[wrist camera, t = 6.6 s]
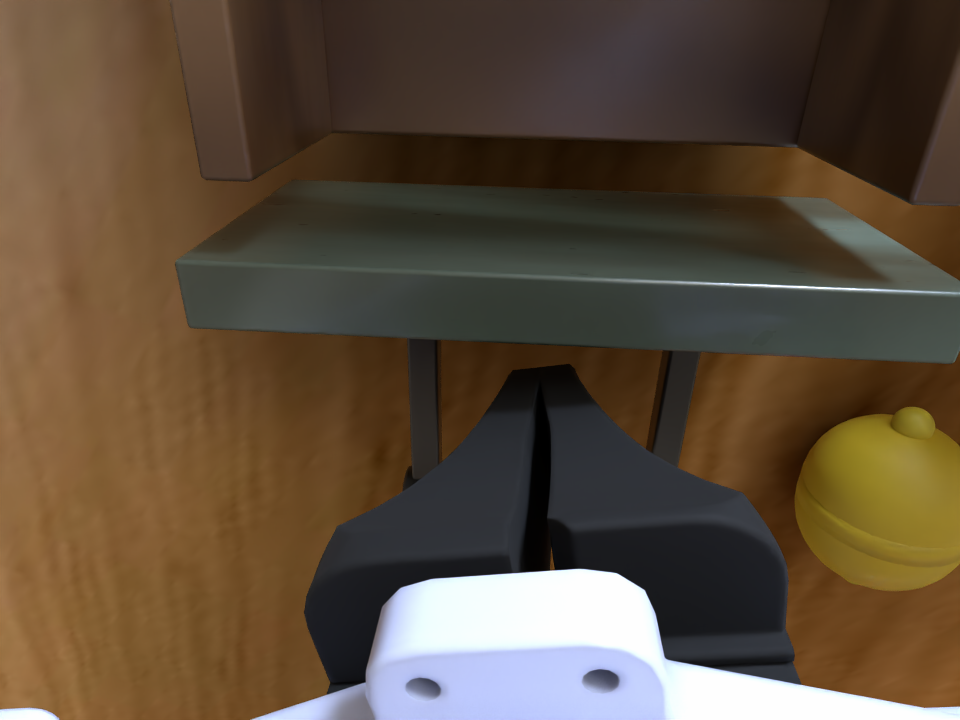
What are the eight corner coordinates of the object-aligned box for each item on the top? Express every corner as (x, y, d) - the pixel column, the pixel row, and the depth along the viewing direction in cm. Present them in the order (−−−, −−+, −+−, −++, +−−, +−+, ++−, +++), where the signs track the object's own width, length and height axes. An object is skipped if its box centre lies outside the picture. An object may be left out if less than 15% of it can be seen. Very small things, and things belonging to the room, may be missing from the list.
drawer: (760, 450, 18) (850, 622, 13) (319, 426, 18) (240, 581, 13) (1106, -835, 8) (1986, -2130, 3) (177, -795, 9) (-275, -1836, 4)
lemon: (802, 365, 17) (871, 454, 14) (957, 373, 17) (1066, 465, 14) (756, 525, 20) (804, 634, 17) (890, 533, 20) (968, 645, 16)
